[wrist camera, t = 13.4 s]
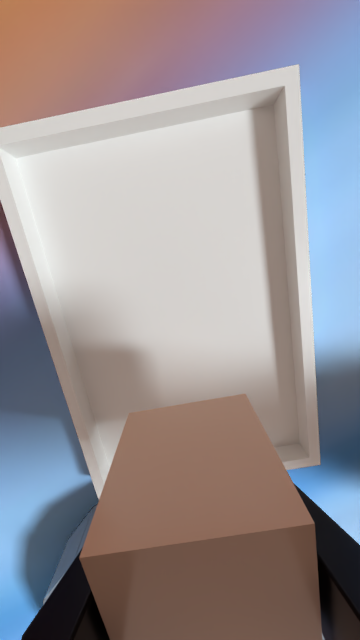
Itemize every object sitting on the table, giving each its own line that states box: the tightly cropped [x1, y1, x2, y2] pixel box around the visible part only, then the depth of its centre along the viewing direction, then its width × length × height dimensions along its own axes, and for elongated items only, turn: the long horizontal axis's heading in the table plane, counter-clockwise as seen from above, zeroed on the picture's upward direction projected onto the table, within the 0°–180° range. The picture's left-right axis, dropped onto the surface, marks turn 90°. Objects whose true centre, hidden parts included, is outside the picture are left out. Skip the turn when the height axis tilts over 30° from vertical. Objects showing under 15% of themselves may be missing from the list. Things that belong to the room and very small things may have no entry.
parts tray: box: [0, 64, 321, 499], centre depth 12 cm, size 13×19×2 cm
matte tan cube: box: [79, 394, 322, 640], centre depth 7 cm, size 4×4×4 cm
